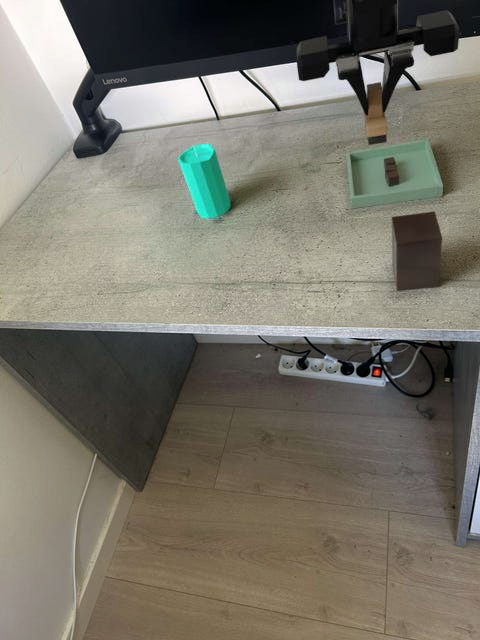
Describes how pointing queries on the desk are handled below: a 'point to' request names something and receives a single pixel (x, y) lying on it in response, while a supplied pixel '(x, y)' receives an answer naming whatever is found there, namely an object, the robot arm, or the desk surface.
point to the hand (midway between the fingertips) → (375, 112)
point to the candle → (205, 180)
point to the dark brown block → (416, 251)
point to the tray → (412, 168)
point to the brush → (375, 115)
